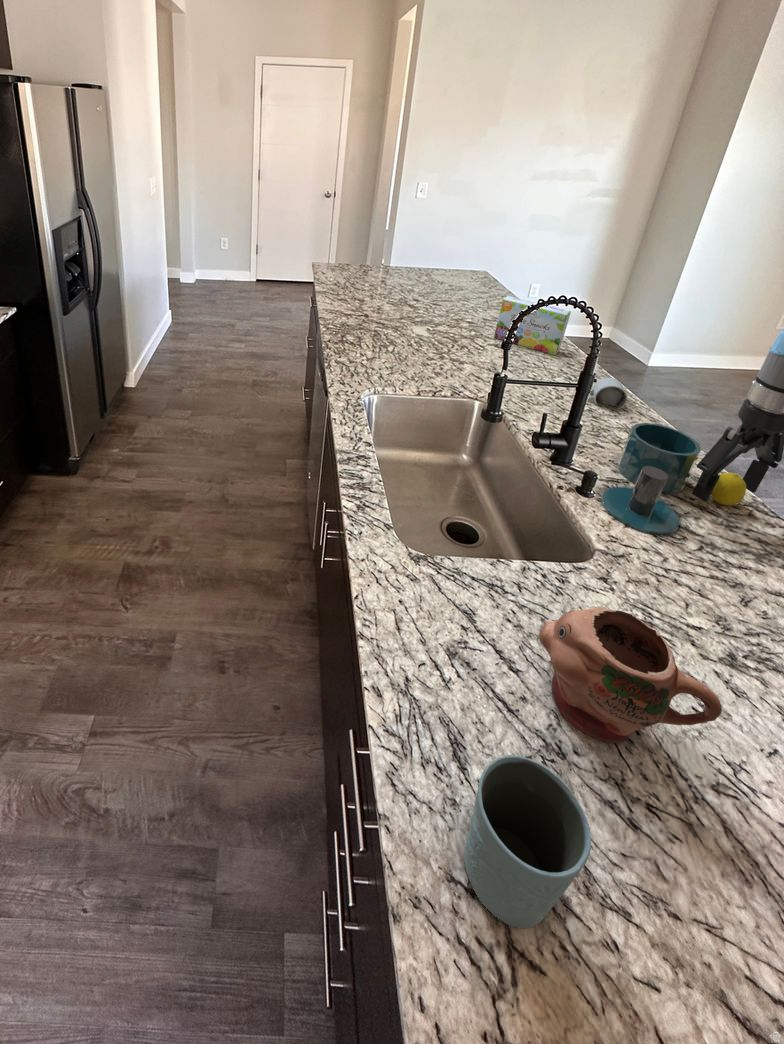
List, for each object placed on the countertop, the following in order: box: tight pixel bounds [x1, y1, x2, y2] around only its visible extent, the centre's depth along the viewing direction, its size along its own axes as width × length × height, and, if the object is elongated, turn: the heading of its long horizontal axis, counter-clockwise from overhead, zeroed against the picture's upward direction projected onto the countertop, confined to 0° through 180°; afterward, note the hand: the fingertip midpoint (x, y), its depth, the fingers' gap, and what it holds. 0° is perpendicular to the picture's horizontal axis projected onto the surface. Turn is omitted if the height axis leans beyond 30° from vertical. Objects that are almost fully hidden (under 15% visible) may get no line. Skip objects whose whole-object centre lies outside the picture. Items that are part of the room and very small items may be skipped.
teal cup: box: [463, 754, 592, 929], centre depth 55 cm, size 10×10×12 cm
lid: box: [600, 466, 680, 536], centre depth 108 cm, size 14×14×10 cm
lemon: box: [710, 472, 747, 506], centre depth 112 cm, size 6×6×8 cm
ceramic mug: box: [587, 377, 628, 410], centre depth 150 cm, size 11×8×8 cm
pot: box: [617, 422, 702, 495], centre depth 119 cm, size 13×13×10 cm
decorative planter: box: [538, 606, 723, 744], centre depth 70 cm, size 20×12×14 cm, turn 63°
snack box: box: [493, 295, 572, 356], centre depth 185 cm, size 21×6×15 cm, turn 49°
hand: (723, 493), depth 112 cm, fingers open, 13 cm apart
